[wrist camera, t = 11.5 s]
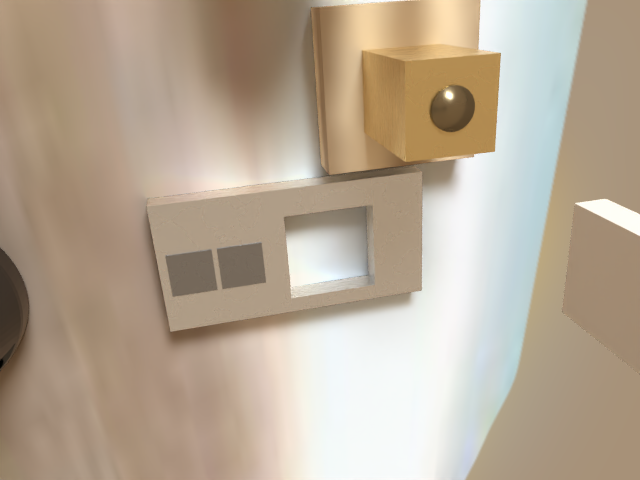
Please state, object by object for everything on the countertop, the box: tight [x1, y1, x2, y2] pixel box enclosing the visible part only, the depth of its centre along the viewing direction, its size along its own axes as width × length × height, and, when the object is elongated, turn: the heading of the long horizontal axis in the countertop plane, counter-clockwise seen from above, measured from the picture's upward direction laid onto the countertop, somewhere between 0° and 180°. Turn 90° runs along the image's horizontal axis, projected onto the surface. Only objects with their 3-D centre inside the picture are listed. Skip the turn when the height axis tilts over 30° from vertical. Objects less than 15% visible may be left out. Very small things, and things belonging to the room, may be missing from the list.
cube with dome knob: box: [362, 44, 501, 162], centre depth 39 cm, size 6×6×9 cm
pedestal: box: [311, 0, 480, 175], centre depth 44 cm, size 12×12×3 cm
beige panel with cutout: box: [146, 165, 422, 332], centre depth 48 cm, size 22×11×2 cm, turn 95°
